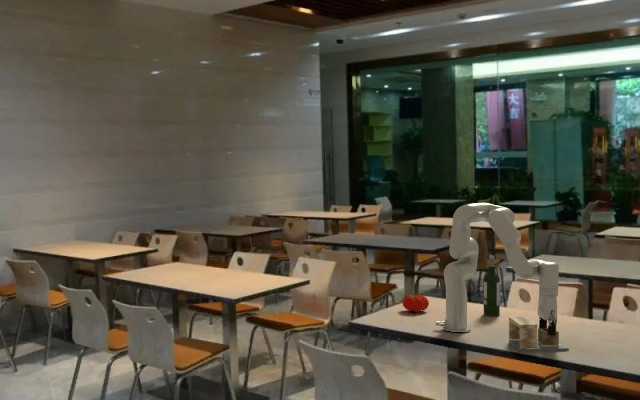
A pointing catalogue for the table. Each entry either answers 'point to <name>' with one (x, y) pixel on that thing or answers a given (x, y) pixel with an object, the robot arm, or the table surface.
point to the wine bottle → (491, 291)
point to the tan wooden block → (523, 331)
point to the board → (539, 347)
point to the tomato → (415, 302)
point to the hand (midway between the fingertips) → (547, 332)
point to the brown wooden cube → (547, 337)
